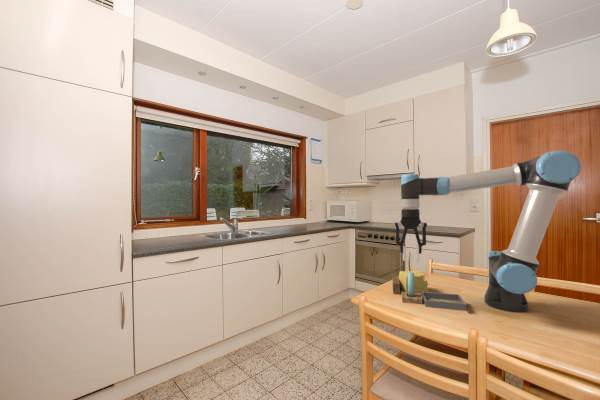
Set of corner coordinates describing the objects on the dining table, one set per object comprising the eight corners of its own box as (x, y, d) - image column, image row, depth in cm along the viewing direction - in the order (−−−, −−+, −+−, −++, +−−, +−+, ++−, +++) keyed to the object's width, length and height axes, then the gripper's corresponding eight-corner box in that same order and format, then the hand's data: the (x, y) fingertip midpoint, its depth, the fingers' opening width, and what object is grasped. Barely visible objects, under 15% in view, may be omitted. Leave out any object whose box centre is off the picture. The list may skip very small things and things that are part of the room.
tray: (459, 302, 120) (458, 294, 120) (466, 313, 110) (466, 304, 110) (421, 299, 125) (421, 291, 125) (425, 309, 114) (425, 300, 114)
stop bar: (398, 288, 140) (398, 276, 140) (399, 296, 129) (399, 283, 129) (392, 287, 141) (392, 276, 141) (393, 295, 130) (393, 283, 130)
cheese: (428, 297, 127) (428, 276, 127) (405, 297, 128) (405, 276, 128) (419, 290, 138) (419, 270, 138) (398, 290, 138) (398, 270, 138)
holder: (419, 299, 125) (419, 293, 125) (422, 306, 117) (422, 299, 117) (401, 298, 127) (401, 291, 127) (402, 304, 119) (402, 297, 119)
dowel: (414, 299, 123) (413, 272, 123) (415, 301, 120) (414, 274, 120) (407, 298, 124) (407, 272, 124) (408, 300, 121) (407, 273, 121)
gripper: (431, 208, 123) (431, 259, 123) (388, 208, 128) (389, 257, 128) (434, 209, 115) (434, 263, 116) (389, 209, 121) (389, 261, 121)
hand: (410, 260), depth 122 cm, fingers open, 5 cm apart
